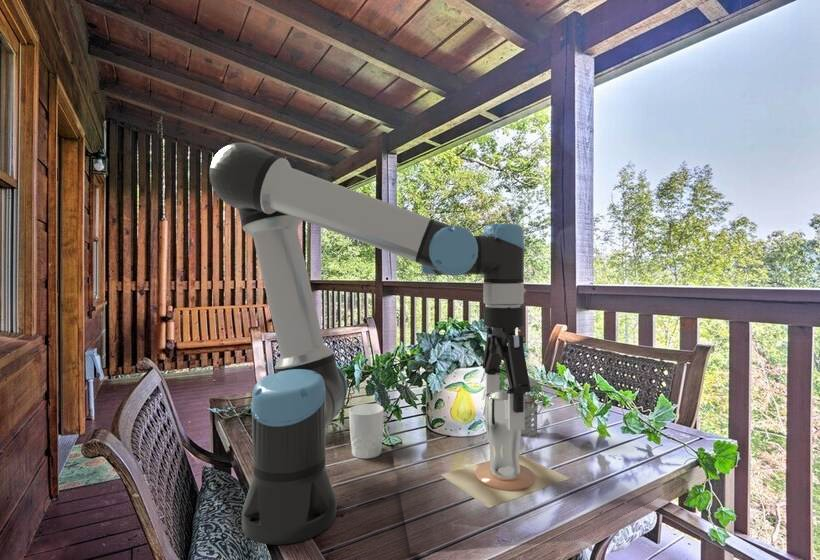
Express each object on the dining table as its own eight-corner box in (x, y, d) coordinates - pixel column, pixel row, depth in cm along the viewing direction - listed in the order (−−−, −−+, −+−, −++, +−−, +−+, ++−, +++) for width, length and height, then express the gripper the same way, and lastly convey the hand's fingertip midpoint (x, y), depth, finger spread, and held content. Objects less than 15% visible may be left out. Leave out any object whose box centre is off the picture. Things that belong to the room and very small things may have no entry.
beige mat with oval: (488, 516, 72) (488, 507, 72) (440, 482, 84) (440, 474, 84) (570, 486, 82) (569, 478, 82) (516, 459, 94) (516, 452, 94)
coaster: (484, 492, 77) (484, 489, 77) (469, 465, 88) (469, 462, 88) (544, 488, 78) (544, 485, 78) (521, 462, 89) (521, 459, 89)
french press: (492, 433, 110) (492, 335, 109) (527, 426, 115) (527, 332, 115) (519, 447, 101) (518, 340, 101) (555, 438, 106) (555, 336, 106)
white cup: (342, 456, 97) (341, 411, 97) (361, 443, 104) (361, 402, 104) (372, 462, 93) (371, 416, 93) (390, 449, 100) (390, 406, 100)
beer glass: (496, 484, 79) (494, 401, 79) (480, 468, 85) (478, 392, 86) (530, 478, 81) (528, 397, 81) (512, 463, 87) (510, 388, 87)
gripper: (551, 310, 71) (550, 440, 71) (501, 301, 96) (501, 397, 96) (506, 311, 70) (506, 442, 70) (468, 302, 95) (468, 399, 95)
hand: (503, 417), depth 83 cm, fingers open, 13 cm apart
